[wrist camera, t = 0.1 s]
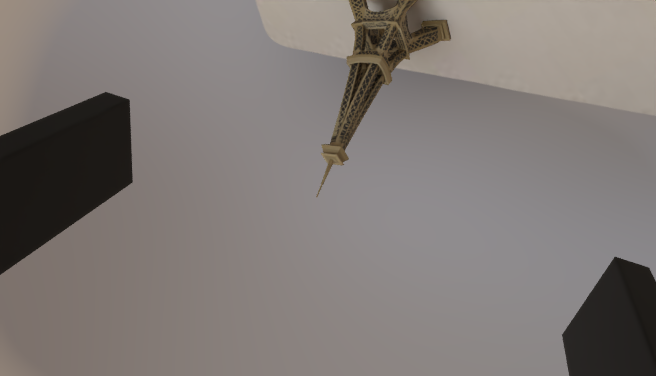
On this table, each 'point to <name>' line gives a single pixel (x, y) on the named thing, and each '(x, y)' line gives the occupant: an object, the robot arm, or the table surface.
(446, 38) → the eiffel tower
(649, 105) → the table surface
